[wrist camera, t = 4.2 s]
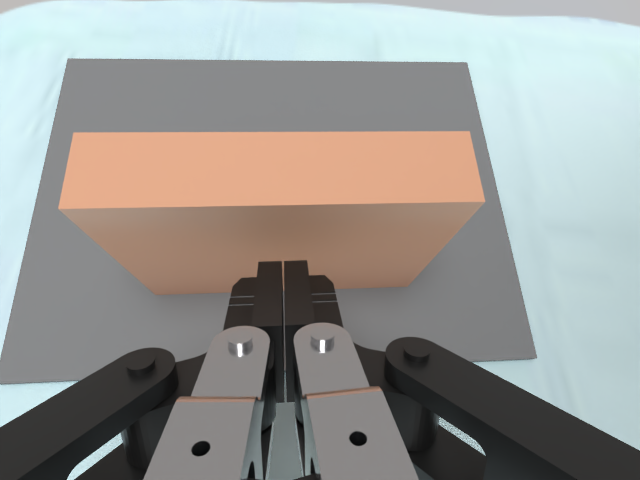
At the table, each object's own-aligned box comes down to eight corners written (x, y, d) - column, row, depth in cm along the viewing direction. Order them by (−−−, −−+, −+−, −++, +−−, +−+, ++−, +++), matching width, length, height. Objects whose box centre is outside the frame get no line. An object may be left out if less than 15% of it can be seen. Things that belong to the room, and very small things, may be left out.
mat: (464, 67, 27) (466, 62, 27) (532, 358, 20) (537, 357, 20) (71, 63, 25) (67, 58, 25) (0, 384, 18) (-6, 383, 18)
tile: (401, 239, 22) (469, 131, 13) (407, 286, 21) (485, 201, 12) (160, 245, 21) (73, 132, 12) (155, 295, 20) (58, 209, 12)
